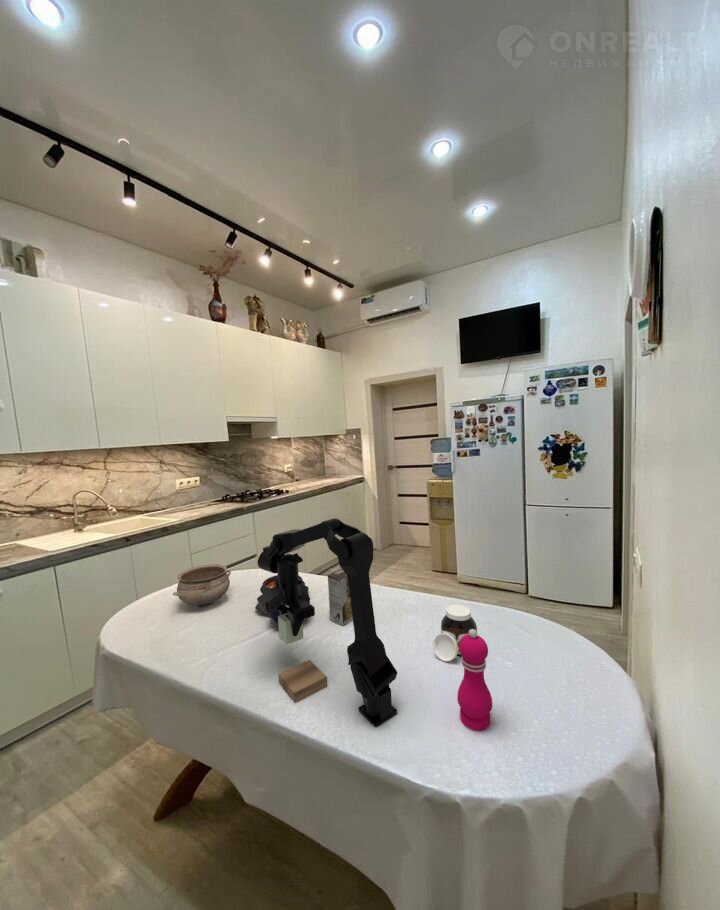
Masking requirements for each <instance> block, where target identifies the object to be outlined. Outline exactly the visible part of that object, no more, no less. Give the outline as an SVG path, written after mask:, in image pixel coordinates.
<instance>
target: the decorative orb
mask: <svg viewBox="0 0 720 910" xmlns="http://www.w3.org/2000/svg"><path fill="white" fill-rule="evenodd" d="M305 586H306V585H305ZM305 586H304V585H303V584H299V593H301V594H302V597H303V598H302V599H299V600H298V602H303V601H307V602H308V603H309V604H311V597H310V594H309V592H308V591H309V590H308V591H307V588H306V587H305ZM268 615H269V617H270V619H271V620H272V621H273V622H274V623H275V624H277V625H278V616H280V612H279V610H278V609H277V608H276V609H275V610H274V611H271V612H270V613H268Z"/></svg>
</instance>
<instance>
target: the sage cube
mask: <svg viewBox="0 0 720 910" xmlns="http://www.w3.org/2000/svg"><path fill="white" fill-rule="evenodd" d="M287 614H288V613H286V614H283V615H280V616H278V624H277V625H278V638H279V639H280V640H281V641H282V642H283V643H284V644H285V645H286V646H287V645H290V644H293V643H295V642H298V641H300V640H303V639H304V623H302V625H301V628H300V630H299V632H298V635H297V636H293V633H292V628H291V623H290V620H289V619H288V618H287V617H286V616H285V615H287Z"/></svg>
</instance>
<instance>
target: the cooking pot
mask: <svg viewBox="0 0 720 910" xmlns="http://www.w3.org/2000/svg"><path fill="white" fill-rule="evenodd" d="M231 574H232V571H231V570H229V569H228V568H227V566H226V565H223V564H216V563H215V564H213V563H212V564H204V565H198V566H194V567H191V568H189V569H186V570H184V571H182V572H181V573H179V574H178V577H177V579H178V583H177V587H176V588H177V589H176V591H174V592H172V596H175V597H178V599H179V600H180V601H181V602H182V603H184V604H185V605H190V606H194V607H198V608H204V607H207V606H210V605H213V604H214V603H216V602H217V601H219V599H222V597H224V595H226V593H227V592H228V590H229V588H230V584H231V580H230V575H231Z"/></svg>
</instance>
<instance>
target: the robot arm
mask: <svg viewBox="0 0 720 910" xmlns="http://www.w3.org/2000/svg"><path fill="white" fill-rule="evenodd" d="M337 536H338V537H341V539H339V538H338V537H337ZM321 539H324V540H325V541H326V543H327V547H328V549H329V551H330V552H332V553H333V554H334V555H335V556H337V559H338V564H339V567H340V569H343V571H344V572H345V573H346V575H347V577H348V584H349V592H350V600H351V609H352V617H353V620H352V623H353V632H354V641H353V642H352V643H351V644H349V645H348V646H347V647H346V653H347V657H348V663H347V665H348V666H350V672H351V675H352V678H353V682H354V684H355V688H356V692H358V693H359V694H360V695H361V697H362V699H363V700H362V702H363V704H362V705H360V706H358V712H360V713H361V715H362V716H364V718H366V719H367V720H368V722H370V724H371V725H373V726H374V727H375V728H376V727H377V728H378V726H380V725H382V724H383V723H385V722H386V721H388V720H389V719H391V718H392V717H394V716H396V715H397V714H398V710H397V708H396V707H394V706H393V704H392V688H391V687H390V684H391V683H392V682H393V681H395V680H396V679H397V677H398V676H397V675H398V671H397V669H396V668H395V666H394V665H393V663H392V661H391V660H390V659H389V656H387V652H386V649H385V644H384V642H383V641H382V640H381V638H379V636H378V634H377V629H376V620H375V612H374V606H373V597H372V596H373V595H372V588H371V587H372V586H371V580H370V579H371V578H370V569H371V567H372V564H373V561H374V542H373V539H372V537H370V536H369V535H368V534H367V533H365V532H362V531H361V530H359V528H357V527H354V526H351V525H350V524H346V523H344V522H343V521H341V520H340V519H339V518H330V519H327V520H323V521H321V522H320V523H317V524H315V525H312V526H309V527H307V528H303V529H300V528H298V529H297V528H296V529H291V530H286V531H283V532H279V533H277V534H274V535H273V536H272V541H271V542H270V544H269V545H267V546H264V547H262V552H261V553H260V554H259V556H258V557H257V558H258V559H257V562H256V563H257V565H258V568H260V569H261V570H263V571H265V572H269V573H272V574H276V575H278V580H275V582H274V587H273V588H270V589H269V590H268V591H266V592H265V593H264V594H262V593H261V594H260V595H259V596H258V597H257V598H256V601H257V604H258V603H259V605H260V607H261V609H262V610H263V611H264V612H265V614H269V613H270V612H271V611H274V610H275V609H276V608H277V609H278V610H279V612H280V615H283V614H286V613H288V614H287V615H285V616H286V617H287V618H288V619H289V620H290V623H291V628H292V633H293V636H297V635H298V632H299V630H300V628H301V625H302V623H303V622H304V621H305V620H306V619H309V618H311V617H315V614H316V609H315V606H314V605H312V604H311V603H310V604H309V603H308V602H307V601H303V602H298V600H299V599H302V598H303V597H302V594H301V593H299V584H302V580H303V579H302V580H301V579H299V576H300V575H299V563H300V564H301V563H302V562H304V559H303V558H302V557H301V556H300V555H299V554H298V553H294V554H293V553H292V554H291V552H294V551H297V550H299V549H302V548H303V547H304V546H305V545H306V544H308V543H311V542H314V541H318V540H321ZM264 612H263V613H264ZM303 624H304V623H303Z"/></svg>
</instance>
